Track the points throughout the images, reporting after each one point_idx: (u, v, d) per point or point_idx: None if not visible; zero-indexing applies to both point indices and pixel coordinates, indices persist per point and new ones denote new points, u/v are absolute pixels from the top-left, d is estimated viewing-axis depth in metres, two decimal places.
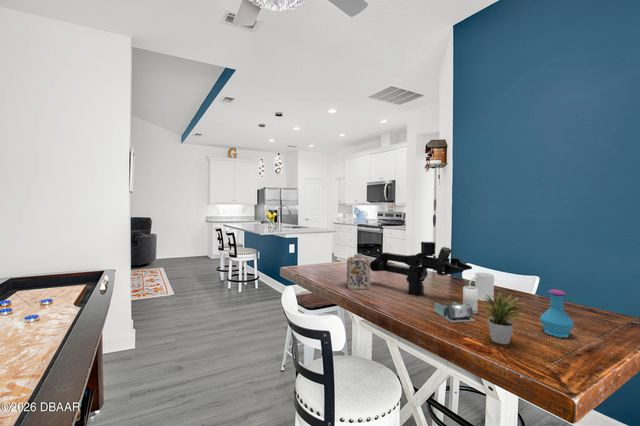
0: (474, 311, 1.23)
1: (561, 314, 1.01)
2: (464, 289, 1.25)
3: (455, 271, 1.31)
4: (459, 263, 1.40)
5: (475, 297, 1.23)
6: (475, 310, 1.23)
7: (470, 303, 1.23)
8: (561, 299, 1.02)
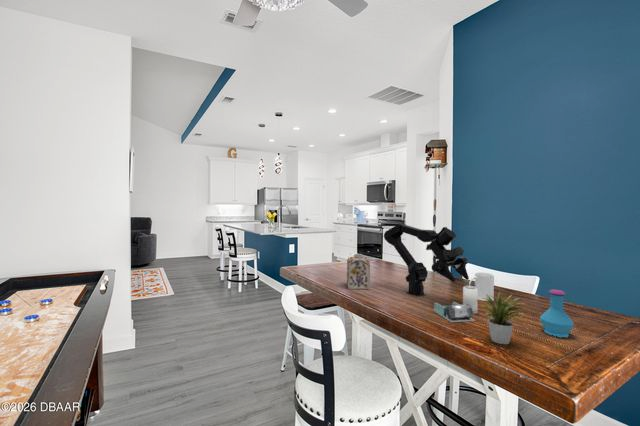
0: (474, 311, 1.23)
1: (561, 314, 1.01)
2: (464, 289, 1.25)
3: (447, 277, 1.29)
4: (462, 267, 1.34)
5: (475, 297, 1.23)
6: (475, 310, 1.23)
7: (470, 303, 1.23)
8: (561, 299, 1.02)
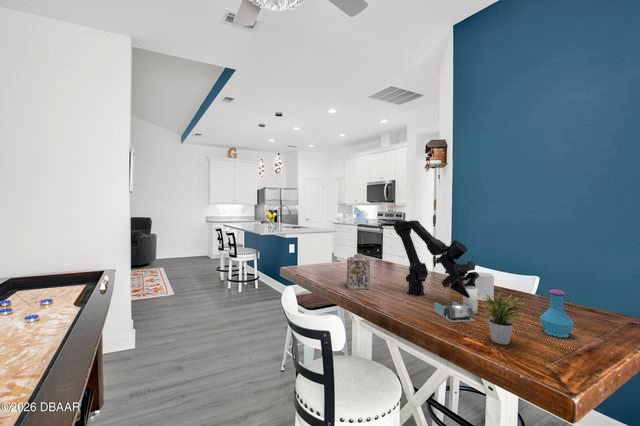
0: (474, 311, 1.23)
1: (561, 314, 1.01)
2: None
3: (461, 292, 1.25)
4: (471, 282, 1.29)
5: (475, 297, 1.23)
6: (475, 310, 1.23)
7: (470, 303, 1.23)
8: (561, 299, 1.02)
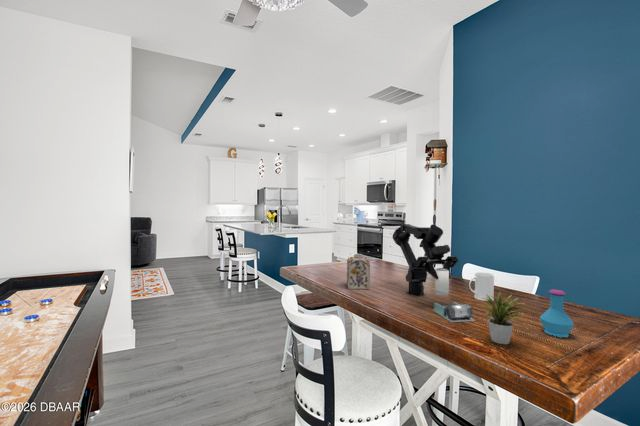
0: (443, 292, 1.26)
1: (561, 314, 1.01)
2: None
3: (431, 274, 1.29)
4: (446, 265, 1.31)
5: (444, 279, 1.26)
6: (444, 291, 1.26)
7: (439, 284, 1.27)
8: (561, 299, 1.02)
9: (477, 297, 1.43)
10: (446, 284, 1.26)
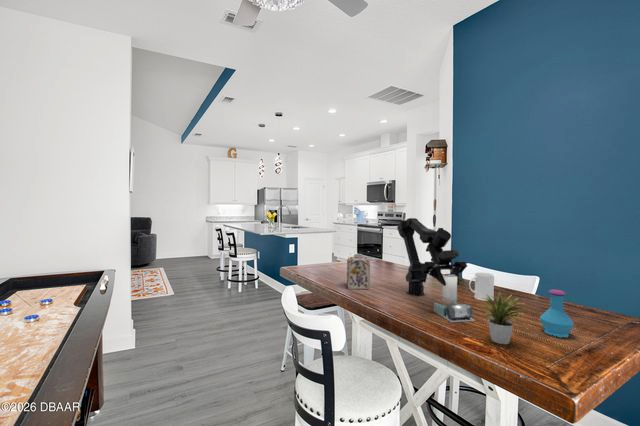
0: (451, 299, 1.20)
1: (561, 314, 1.01)
2: (443, 277, 1.23)
3: (439, 280, 1.23)
4: (454, 271, 1.25)
5: (452, 285, 1.20)
6: (452, 298, 1.20)
7: (447, 291, 1.21)
8: (561, 299, 1.02)
9: (477, 297, 1.43)
10: (454, 291, 1.20)
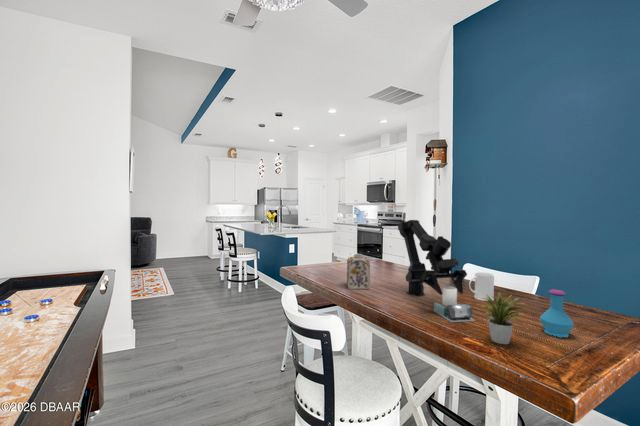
0: None
1: (561, 314, 1.01)
2: (443, 289, 1.23)
3: (435, 288, 1.23)
4: (458, 280, 1.25)
5: (452, 297, 1.20)
6: None
7: (447, 303, 1.21)
8: (561, 299, 1.02)
9: (477, 297, 1.43)
10: (454, 303, 1.20)
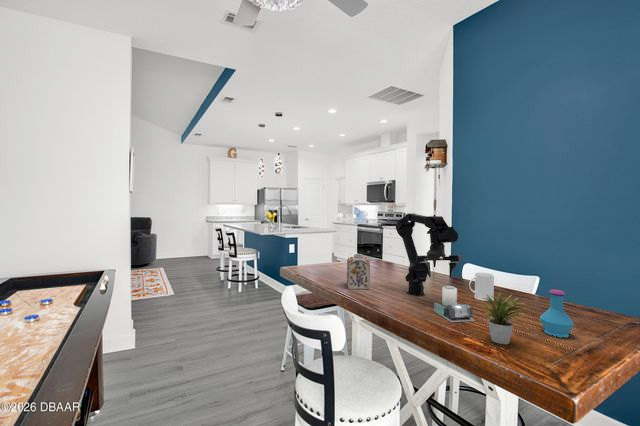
0: None
1: (561, 314, 1.01)
2: (442, 289, 1.23)
3: None
4: None
5: (452, 297, 1.20)
6: None
7: (446, 303, 1.21)
8: (561, 299, 1.02)
9: (477, 297, 1.43)
10: (454, 303, 1.20)
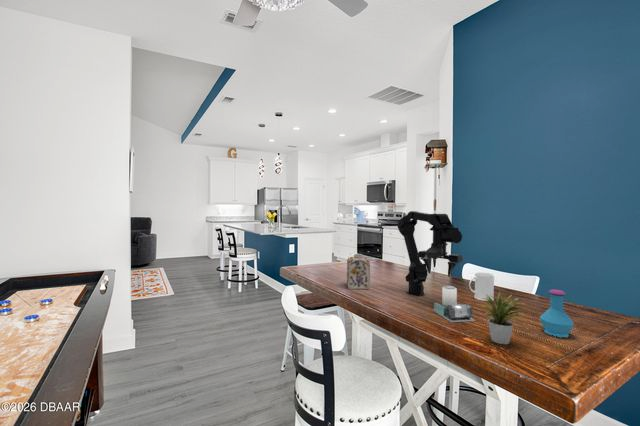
0: None
1: (561, 314, 1.01)
2: (442, 289, 1.23)
3: None
4: None
5: (452, 297, 1.20)
6: None
7: (446, 303, 1.21)
8: (561, 299, 1.02)
9: (477, 297, 1.43)
10: (454, 303, 1.20)
